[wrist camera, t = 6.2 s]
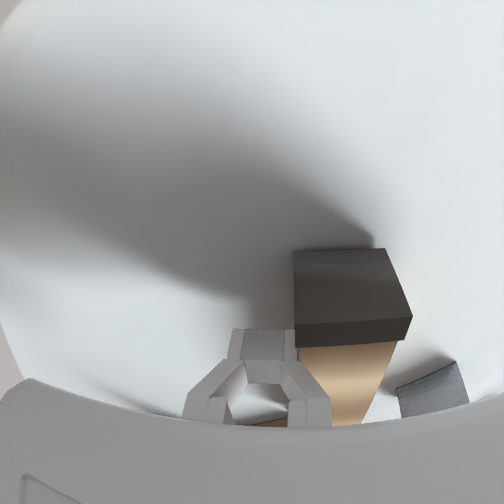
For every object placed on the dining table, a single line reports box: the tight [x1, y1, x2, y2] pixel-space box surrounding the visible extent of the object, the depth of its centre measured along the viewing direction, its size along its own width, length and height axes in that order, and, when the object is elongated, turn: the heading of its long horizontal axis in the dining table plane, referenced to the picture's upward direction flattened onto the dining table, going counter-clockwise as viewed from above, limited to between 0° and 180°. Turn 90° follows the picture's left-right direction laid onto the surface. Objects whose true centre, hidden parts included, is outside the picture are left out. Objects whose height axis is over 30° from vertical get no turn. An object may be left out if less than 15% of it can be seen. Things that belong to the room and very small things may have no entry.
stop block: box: [396, 362, 469, 418], centre depth 16 cm, size 2×5×4 cm, turn 128°
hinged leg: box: [293, 248, 413, 426], centre depth 14 cm, size 15×4×4 cm, turn 7°
